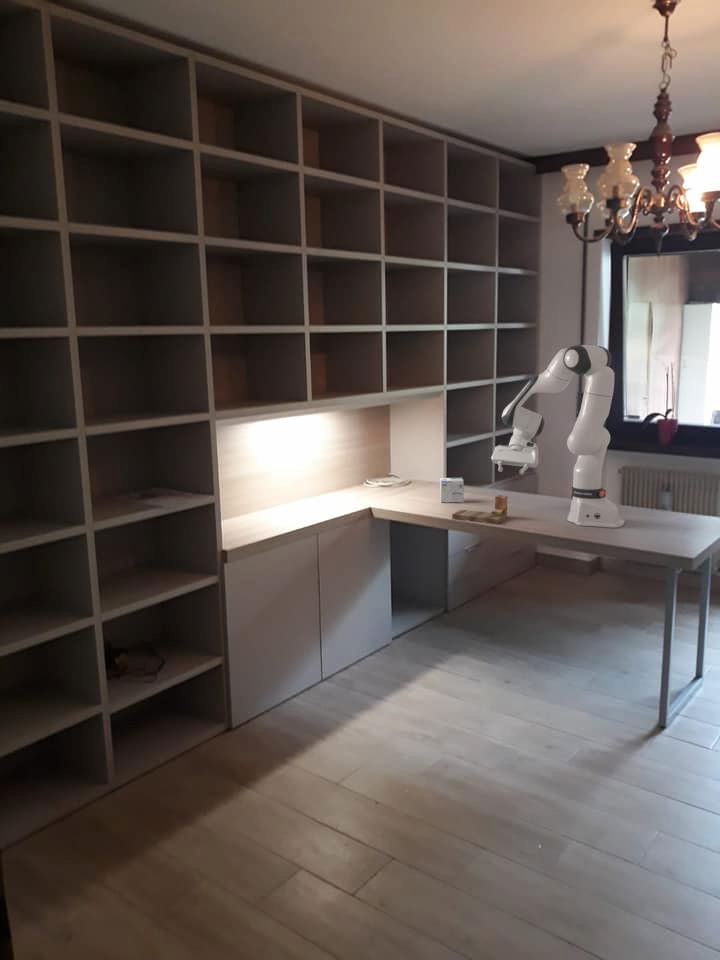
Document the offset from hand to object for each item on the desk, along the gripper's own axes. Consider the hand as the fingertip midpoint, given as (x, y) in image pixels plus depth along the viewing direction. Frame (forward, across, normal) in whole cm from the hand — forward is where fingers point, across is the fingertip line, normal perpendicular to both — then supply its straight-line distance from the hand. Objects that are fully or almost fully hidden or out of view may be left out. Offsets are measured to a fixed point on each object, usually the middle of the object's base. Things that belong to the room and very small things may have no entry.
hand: (510, 472), depth 337 cm
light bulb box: (+9, -29, +17) cm, 35 cm away
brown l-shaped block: (+23, +1, +1) cm, 23 cm away
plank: (+26, -6, -2) cm, 27 cm away
